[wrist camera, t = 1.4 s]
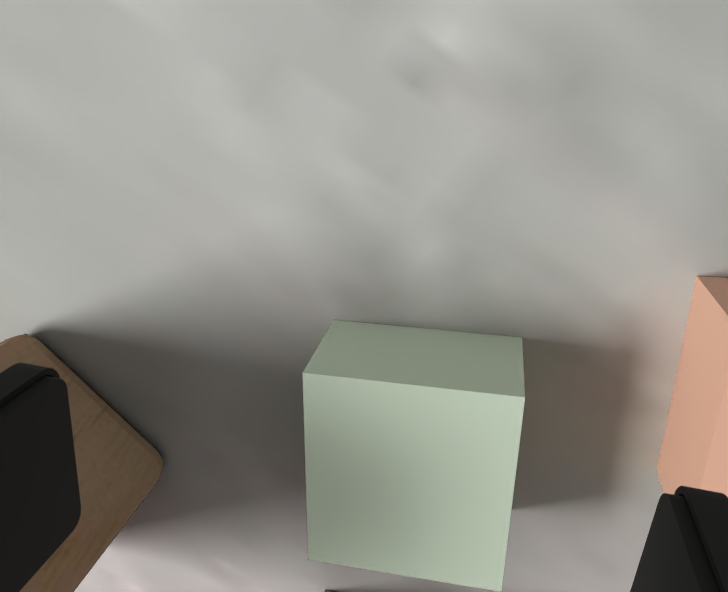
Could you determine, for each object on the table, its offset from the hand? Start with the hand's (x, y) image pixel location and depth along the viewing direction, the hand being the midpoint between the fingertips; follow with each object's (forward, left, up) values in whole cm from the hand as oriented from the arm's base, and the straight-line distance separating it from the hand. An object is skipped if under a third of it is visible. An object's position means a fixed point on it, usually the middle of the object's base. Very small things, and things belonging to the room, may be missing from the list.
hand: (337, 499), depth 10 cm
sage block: (+9, 0, -17) cm, 20 cm away
